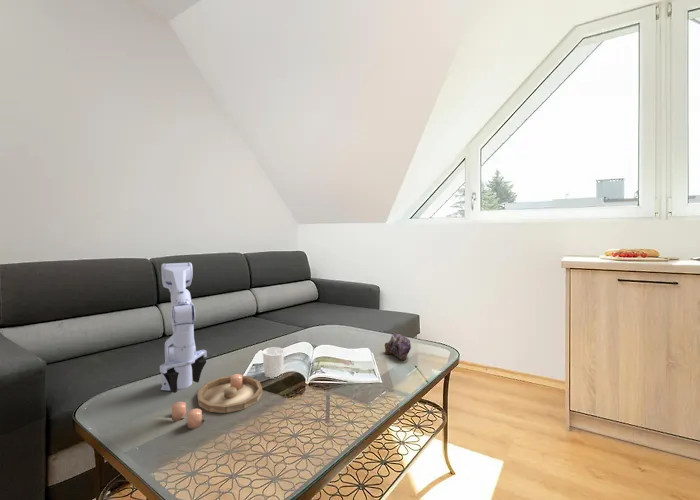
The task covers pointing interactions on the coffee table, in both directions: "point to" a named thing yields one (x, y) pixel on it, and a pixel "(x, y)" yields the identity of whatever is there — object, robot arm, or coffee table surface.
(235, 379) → the bead
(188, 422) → the bead
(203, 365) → the robot arm
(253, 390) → the ring tray
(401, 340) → the rock
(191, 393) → the coffee table surface
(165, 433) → the coffee table surface
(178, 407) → the bead
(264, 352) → the white cup
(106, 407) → the coffee table surface
